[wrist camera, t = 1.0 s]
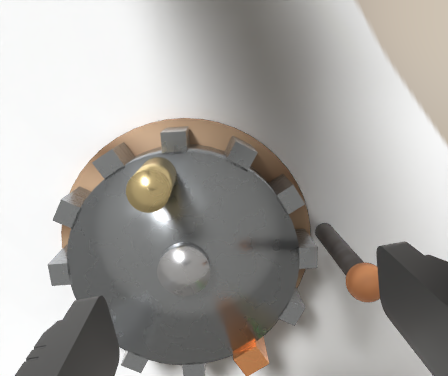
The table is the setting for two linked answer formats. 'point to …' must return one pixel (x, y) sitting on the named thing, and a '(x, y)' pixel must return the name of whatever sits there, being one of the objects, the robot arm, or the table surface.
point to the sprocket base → (268, 167)
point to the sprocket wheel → (186, 252)
